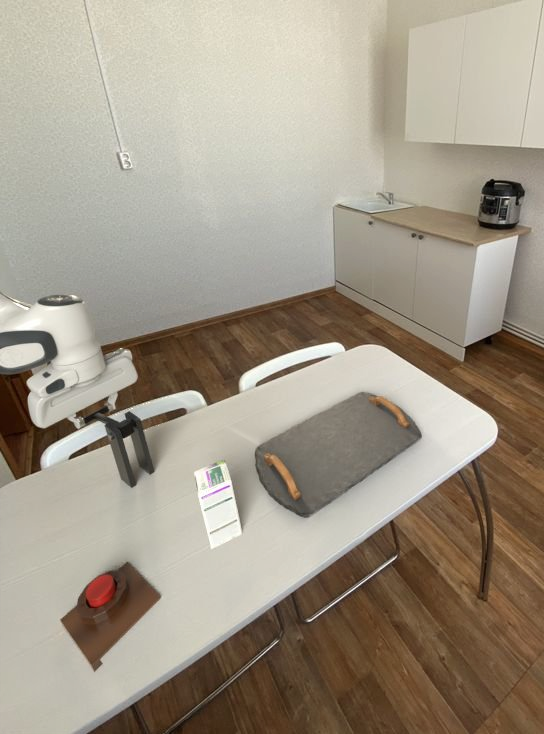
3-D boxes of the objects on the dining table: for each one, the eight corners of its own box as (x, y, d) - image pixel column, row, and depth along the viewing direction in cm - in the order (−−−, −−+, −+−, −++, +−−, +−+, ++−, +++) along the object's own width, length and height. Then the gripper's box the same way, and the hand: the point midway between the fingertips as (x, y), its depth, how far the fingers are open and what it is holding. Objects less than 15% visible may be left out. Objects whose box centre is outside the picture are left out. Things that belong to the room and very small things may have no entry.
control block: (62, 625, 59) (55, 611, 57) (128, 567, 67) (123, 553, 65) (94, 672, 53) (87, 657, 52) (162, 603, 61) (157, 589, 60)
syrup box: (244, 538, 71) (233, 479, 66) (210, 555, 68) (197, 495, 63) (236, 514, 76) (226, 457, 71) (205, 528, 73) (192, 470, 68)
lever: (83, 425, 86) (80, 416, 85) (107, 412, 90) (104, 403, 89) (116, 443, 76) (112, 432, 76) (141, 427, 80) (137, 418, 80)
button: (84, 598, 59) (81, 590, 59) (108, 577, 62) (106, 569, 62) (95, 612, 58) (92, 605, 57) (120, 590, 60) (117, 582, 60)
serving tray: (293, 539, 71) (291, 514, 69) (242, 462, 88) (239, 441, 86) (431, 439, 94) (433, 418, 91) (370, 394, 110) (370, 375, 108)
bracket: (108, 482, 83) (89, 424, 78) (144, 458, 89) (129, 402, 84) (132, 504, 78) (114, 443, 73) (169, 476, 84) (154, 419, 79)
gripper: (122, 341, 92) (134, 389, 97) (16, 385, 76) (37, 440, 81) (136, 348, 89) (148, 397, 94) (28, 395, 73) (49, 452, 78)
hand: (96, 417), depth 87 cm, fingers closed on lever, 5 cm apart
